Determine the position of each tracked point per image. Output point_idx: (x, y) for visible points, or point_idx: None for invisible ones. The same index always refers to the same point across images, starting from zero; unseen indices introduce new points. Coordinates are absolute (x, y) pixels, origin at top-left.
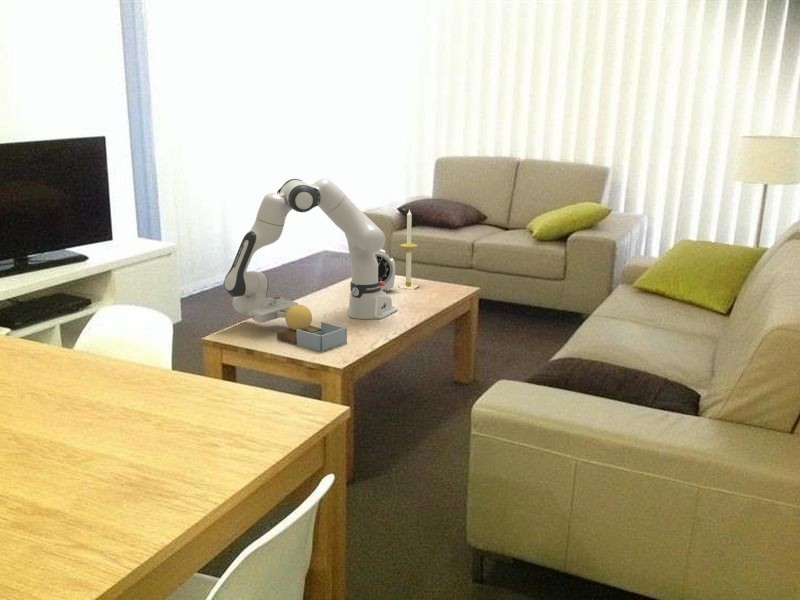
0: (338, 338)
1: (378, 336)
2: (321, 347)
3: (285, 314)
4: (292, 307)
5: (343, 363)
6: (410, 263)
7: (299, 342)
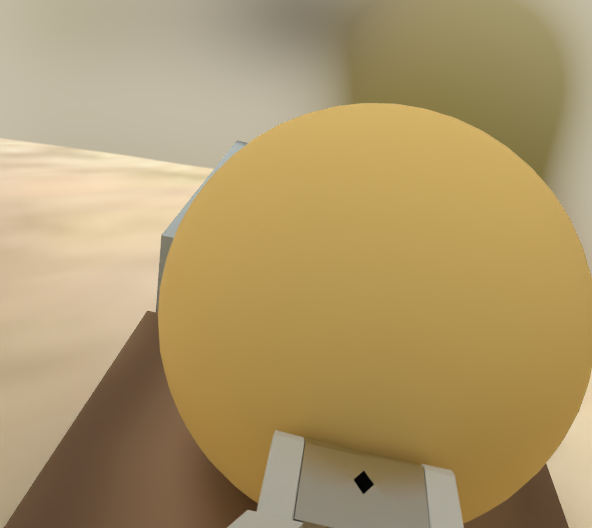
0: None
1: (26, 171)
2: None
3: (449, 516)
4: (534, 178)
5: None
6: None
7: None
